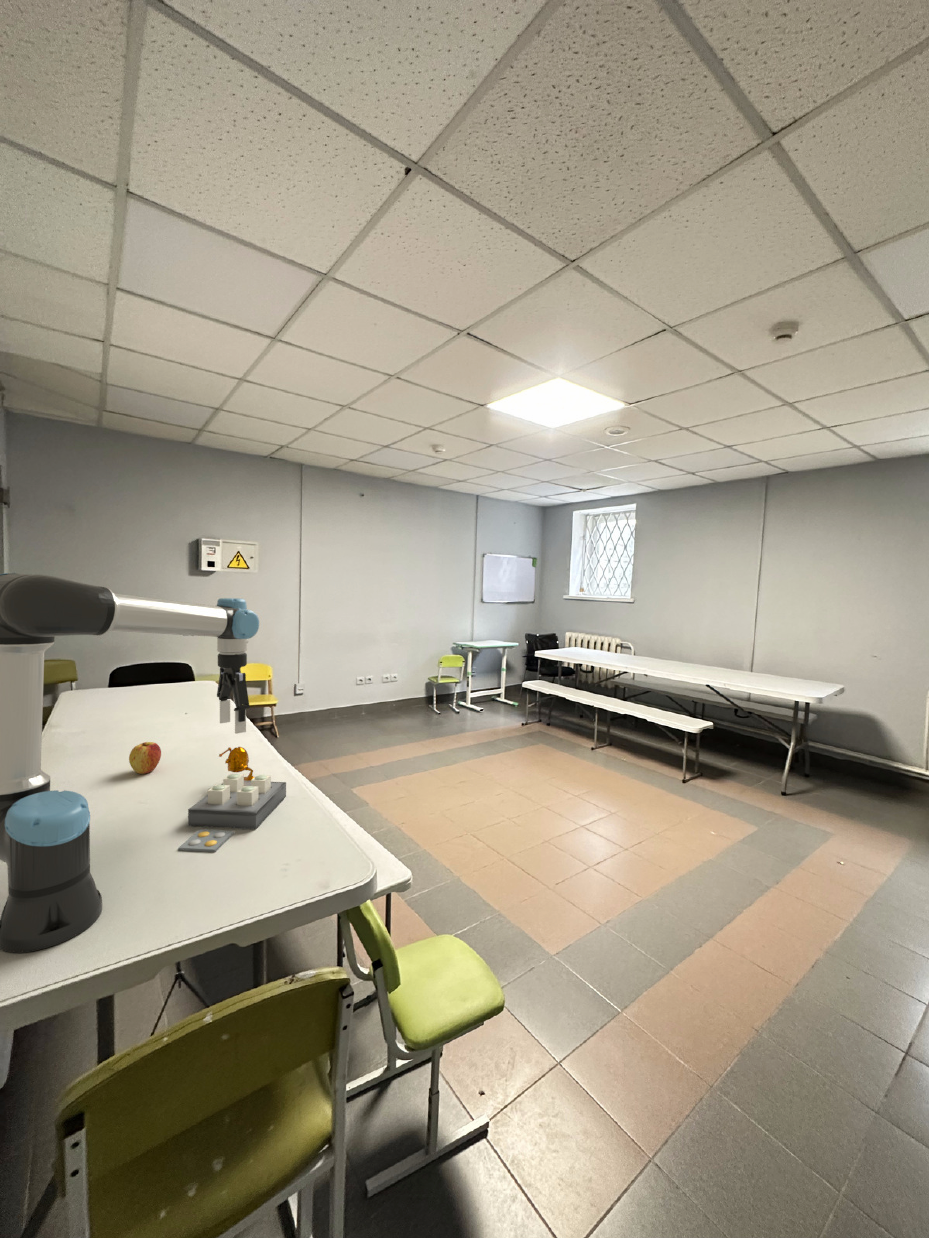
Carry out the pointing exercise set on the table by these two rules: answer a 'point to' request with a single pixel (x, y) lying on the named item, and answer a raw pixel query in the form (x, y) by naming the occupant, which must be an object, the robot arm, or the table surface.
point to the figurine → (238, 761)
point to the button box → (237, 810)
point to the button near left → (219, 794)
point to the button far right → (262, 783)
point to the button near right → (247, 796)
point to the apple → (145, 757)
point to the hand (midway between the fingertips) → (232, 727)
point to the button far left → (234, 782)
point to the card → (206, 840)
